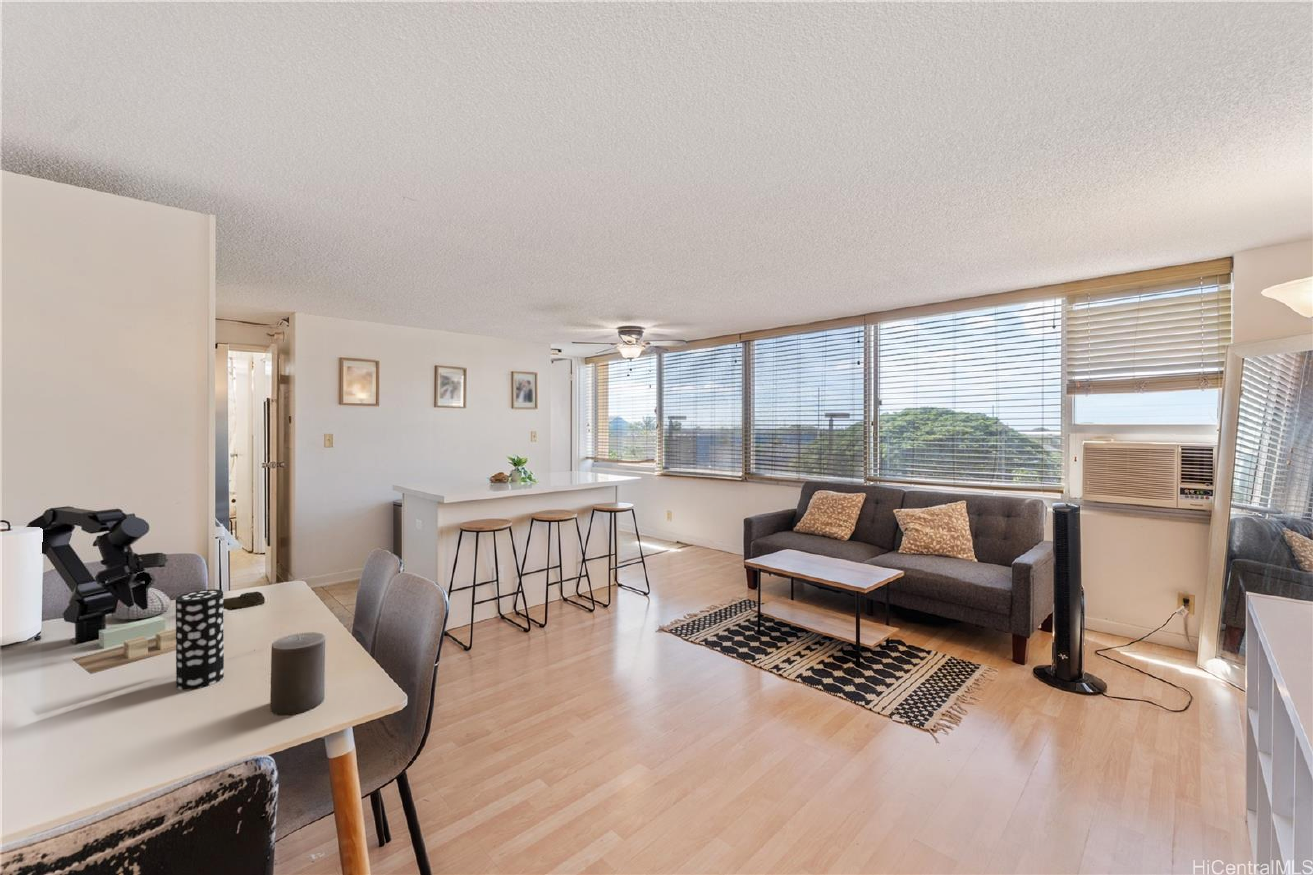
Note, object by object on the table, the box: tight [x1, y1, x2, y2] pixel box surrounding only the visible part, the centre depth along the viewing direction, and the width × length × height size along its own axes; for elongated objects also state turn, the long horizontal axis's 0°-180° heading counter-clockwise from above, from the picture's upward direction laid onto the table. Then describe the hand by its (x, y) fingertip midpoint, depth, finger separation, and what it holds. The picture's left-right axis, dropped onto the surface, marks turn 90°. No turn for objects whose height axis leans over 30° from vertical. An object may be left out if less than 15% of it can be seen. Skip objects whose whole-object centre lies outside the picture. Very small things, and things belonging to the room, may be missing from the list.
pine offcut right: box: [155, 628, 176, 650], centre depth 139 cm, size 4×4×4 cm
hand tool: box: [223, 591, 266, 610], centre depth 169 cm, size 19×4×5 cm, turn 123°
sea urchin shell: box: [110, 587, 172, 621], centre depth 164 cm, size 13×14×8 cm
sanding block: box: [98, 616, 166, 649], centre depth 143 cm, size 4×12×6 cm, turn 149°
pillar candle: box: [269, 631, 326, 716], centre depth 115 cm, size 10×10×15 cm
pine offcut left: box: [123, 637, 149, 658], centre depth 134 cm, size 4×4×4 cm
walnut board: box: [72, 637, 176, 675], centre depth 137 cm, size 14×24×2 cm, turn 149°
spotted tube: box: [175, 588, 225, 691], centre depth 123 cm, size 8×8×20 cm
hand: (138, 607), depth 139 cm, fingers open, 9 cm apart
